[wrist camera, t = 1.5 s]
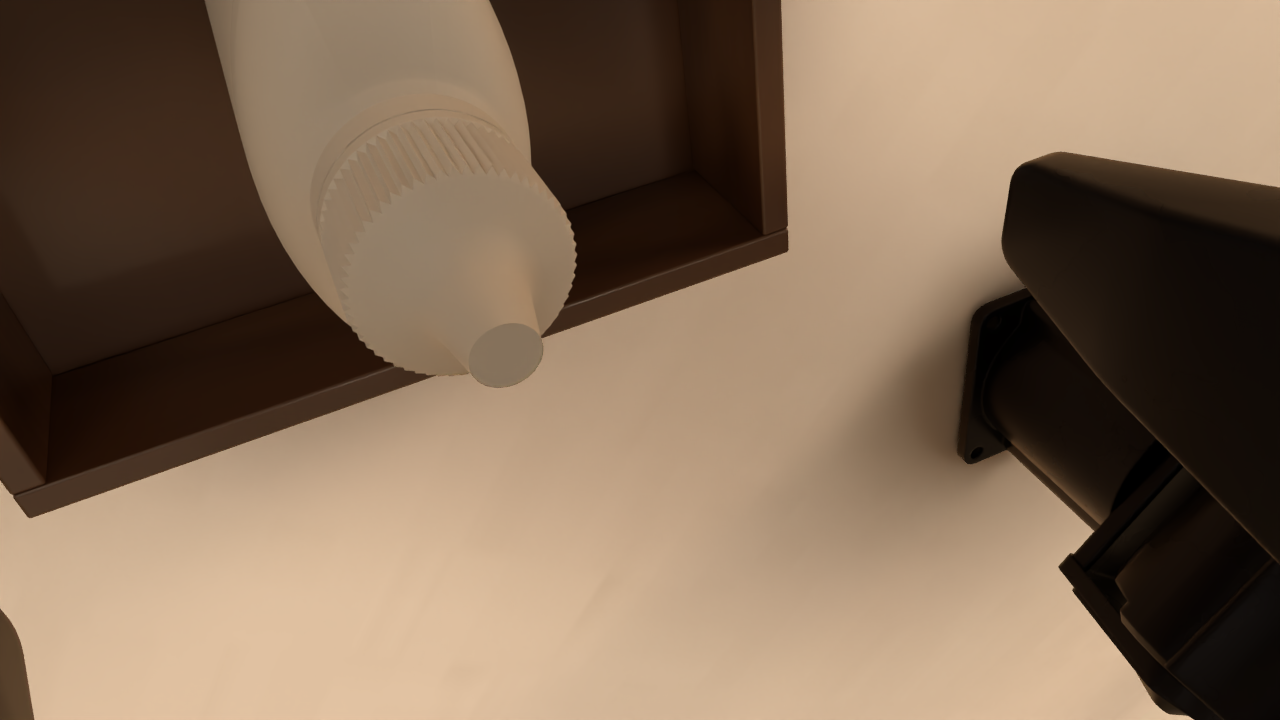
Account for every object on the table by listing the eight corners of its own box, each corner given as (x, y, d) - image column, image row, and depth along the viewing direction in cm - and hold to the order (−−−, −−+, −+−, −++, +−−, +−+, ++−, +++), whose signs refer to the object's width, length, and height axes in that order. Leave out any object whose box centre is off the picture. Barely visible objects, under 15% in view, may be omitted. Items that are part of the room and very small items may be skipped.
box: (708, 175, 24) (790, 252, 21) (38, 392, 21) (28, 520, 18) (645, -567, 16) (764, -603, 13) (-494, -416, 12) (-673, -421, 10)
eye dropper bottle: (138, 97, 18) (176, 582, 9) (211, -242, 16) (357, -36, 7) (379, 158, 20) (595, 589, 11) (473, -130, 18) (832, 132, 9)
